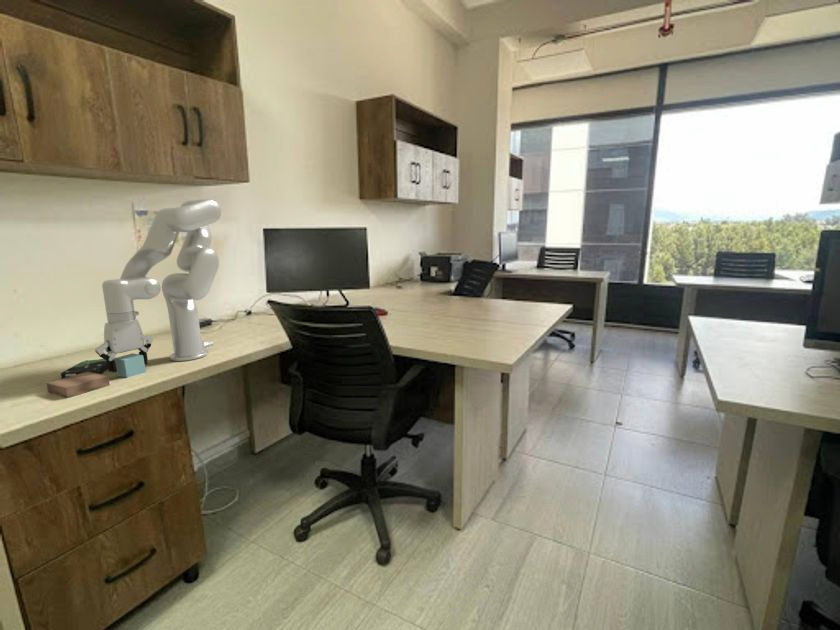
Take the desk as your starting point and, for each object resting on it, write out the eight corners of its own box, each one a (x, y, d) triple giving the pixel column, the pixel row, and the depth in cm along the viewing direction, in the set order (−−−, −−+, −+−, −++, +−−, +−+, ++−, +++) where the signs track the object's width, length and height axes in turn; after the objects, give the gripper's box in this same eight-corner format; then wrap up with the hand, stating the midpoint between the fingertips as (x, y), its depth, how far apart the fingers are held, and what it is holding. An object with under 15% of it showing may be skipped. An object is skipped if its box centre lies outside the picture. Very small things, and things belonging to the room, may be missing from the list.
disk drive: (97, 378, 138) (117, 364, 152) (96, 370, 137) (116, 357, 151) (61, 381, 135) (84, 367, 149) (59, 373, 135) (83, 359, 149)
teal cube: (135, 370, 143) (132, 353, 142) (145, 372, 141) (143, 355, 140) (116, 375, 138) (113, 358, 137) (127, 377, 136) (124, 360, 134)
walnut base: (90, 380, 133) (88, 371, 133) (109, 385, 129) (108, 376, 128) (48, 392, 124) (46, 382, 123) (67, 398, 119) (65, 388, 118)
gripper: (141, 312, 145) (148, 359, 148) (84, 321, 130) (93, 373, 133) (155, 313, 142) (161, 361, 145) (98, 323, 126) (106, 376, 129)
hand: (128, 367), depth 139 cm, fingers open, 9 cm apart
